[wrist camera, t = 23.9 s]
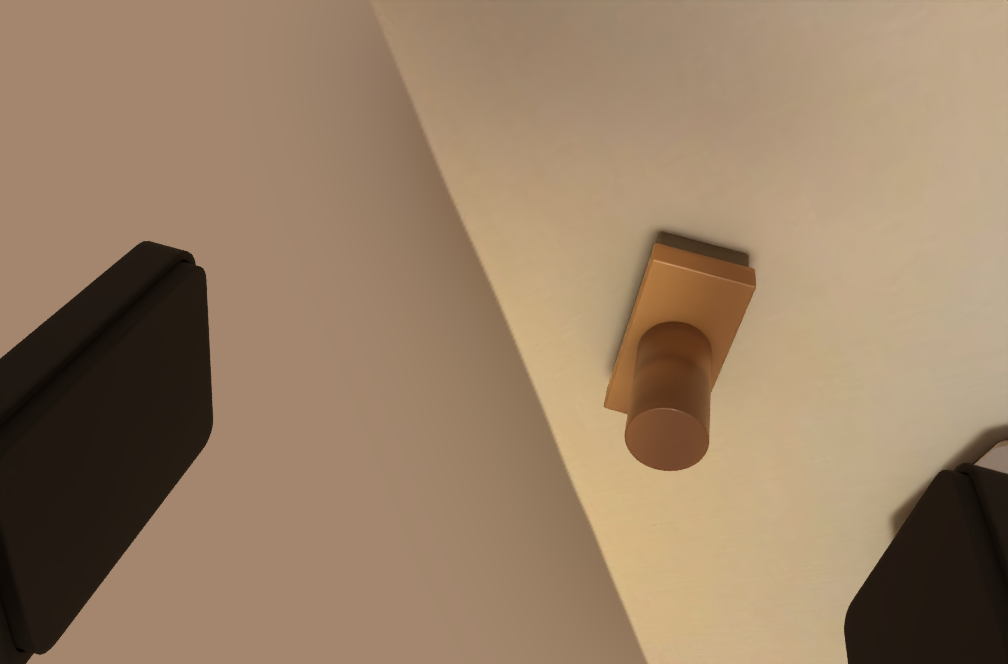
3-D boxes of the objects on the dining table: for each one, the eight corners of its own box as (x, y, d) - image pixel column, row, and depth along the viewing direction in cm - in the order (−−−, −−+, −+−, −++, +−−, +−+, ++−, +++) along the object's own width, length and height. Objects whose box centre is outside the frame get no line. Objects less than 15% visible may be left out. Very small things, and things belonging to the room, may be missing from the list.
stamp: (610, 370, 43) (585, 498, 35) (657, 226, 38) (639, 339, 30) (696, 394, 42) (688, 528, 35) (754, 251, 37) (761, 373, 30)
